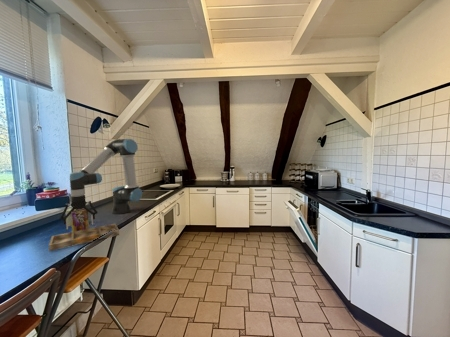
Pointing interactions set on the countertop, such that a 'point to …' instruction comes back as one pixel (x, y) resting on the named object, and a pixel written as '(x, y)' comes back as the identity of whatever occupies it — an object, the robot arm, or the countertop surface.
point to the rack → (81, 236)
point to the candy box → (79, 220)
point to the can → (69, 217)
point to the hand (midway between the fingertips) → (80, 226)
